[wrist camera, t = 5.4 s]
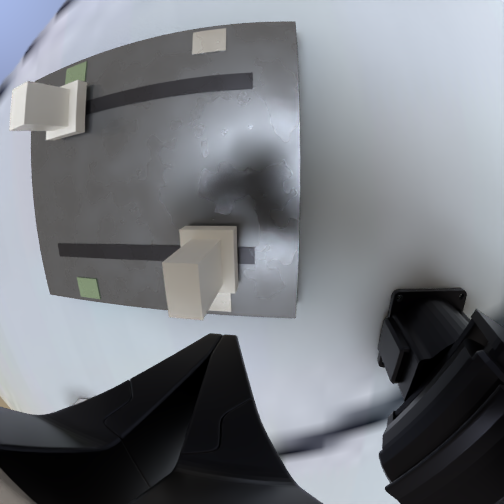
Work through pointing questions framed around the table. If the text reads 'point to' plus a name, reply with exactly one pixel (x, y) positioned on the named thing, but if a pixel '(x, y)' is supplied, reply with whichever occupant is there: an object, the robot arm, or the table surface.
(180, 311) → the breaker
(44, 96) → the block
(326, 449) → the table surface
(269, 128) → the board
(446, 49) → the table surface
